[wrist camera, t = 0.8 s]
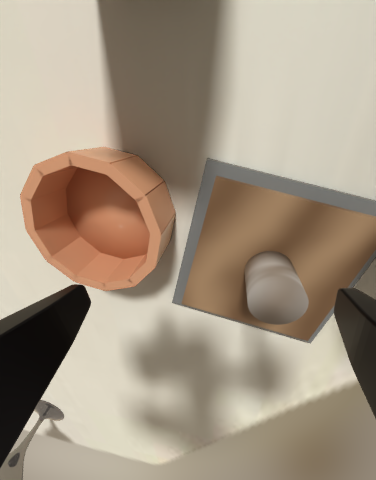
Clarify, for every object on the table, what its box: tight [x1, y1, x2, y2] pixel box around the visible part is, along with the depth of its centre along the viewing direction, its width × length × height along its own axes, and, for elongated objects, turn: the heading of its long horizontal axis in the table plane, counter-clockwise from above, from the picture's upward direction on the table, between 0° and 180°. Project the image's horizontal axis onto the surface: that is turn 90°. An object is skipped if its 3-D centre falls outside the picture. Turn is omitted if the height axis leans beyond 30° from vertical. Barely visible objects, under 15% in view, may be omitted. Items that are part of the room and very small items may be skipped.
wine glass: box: [0, 400, 64, 480], centre depth 36 cm, size 8×8×15 cm
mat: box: [172, 158, 376, 343], centre depth 20 cm, size 15×15×1 cm
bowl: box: [20, 147, 176, 291], centre depth 18 cm, size 11×11×4 cm
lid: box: [181, 176, 376, 341], centre depth 17 cm, size 13×13×5 cm
